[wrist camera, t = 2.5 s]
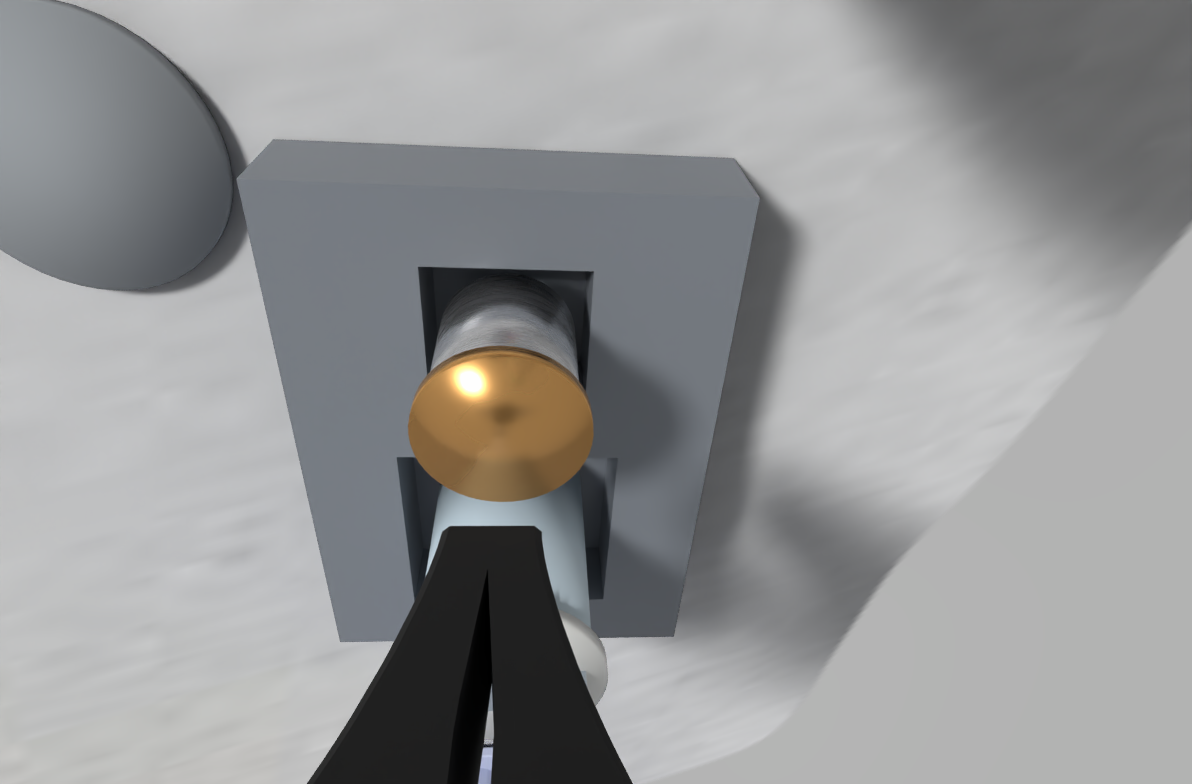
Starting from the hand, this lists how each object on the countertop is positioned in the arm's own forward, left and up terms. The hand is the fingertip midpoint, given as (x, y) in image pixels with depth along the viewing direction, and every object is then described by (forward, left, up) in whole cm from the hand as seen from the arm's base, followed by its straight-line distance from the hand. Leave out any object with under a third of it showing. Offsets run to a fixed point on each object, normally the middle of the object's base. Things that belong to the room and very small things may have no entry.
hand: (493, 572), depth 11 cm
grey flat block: (-4, 0, -9) cm, 10 cm away
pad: (+3, +9, -9) cm, 13 cm away
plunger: (0, 0, -7) cm, 7 cm away
